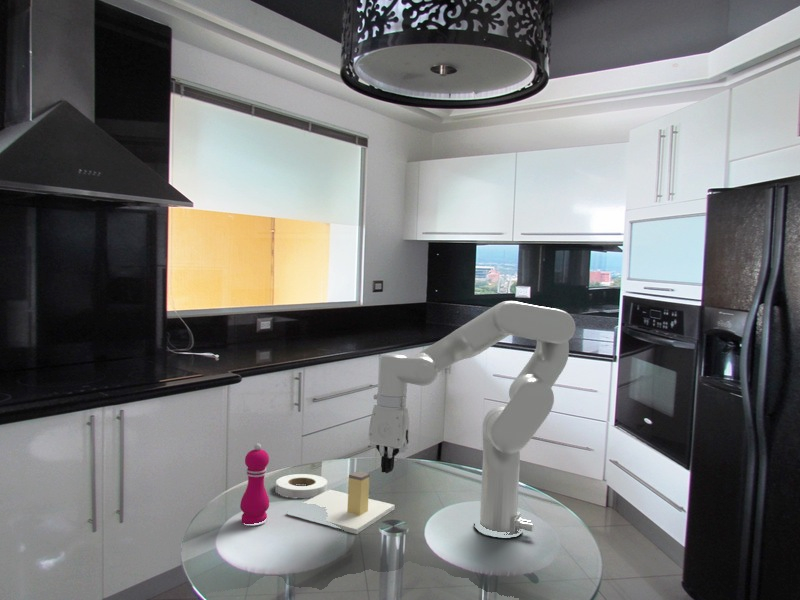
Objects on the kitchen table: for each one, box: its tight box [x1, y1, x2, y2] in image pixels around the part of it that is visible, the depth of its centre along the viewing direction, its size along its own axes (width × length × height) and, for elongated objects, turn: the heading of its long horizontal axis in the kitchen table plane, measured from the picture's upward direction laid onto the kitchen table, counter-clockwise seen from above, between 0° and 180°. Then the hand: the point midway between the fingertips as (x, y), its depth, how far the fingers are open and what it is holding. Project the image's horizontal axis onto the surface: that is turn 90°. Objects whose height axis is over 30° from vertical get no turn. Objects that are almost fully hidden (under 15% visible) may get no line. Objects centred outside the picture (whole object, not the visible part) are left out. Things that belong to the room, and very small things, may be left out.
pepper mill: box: [239, 443, 270, 524], centre depth 140 cm, size 7×7×20 cm
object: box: [275, 473, 328, 499], centre depth 165 cm, size 16×15×3 cm
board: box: [302, 489, 395, 535], centre depth 149 cm, size 22×20×1 cm
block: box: [347, 470, 370, 515], centre depth 146 cm, size 4×4×10 cm
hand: (387, 471), depth 142 cm, fingers closed
